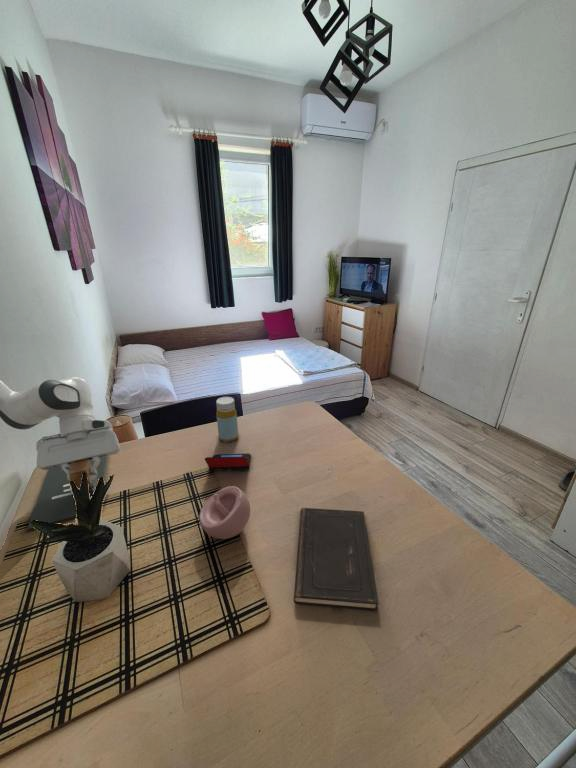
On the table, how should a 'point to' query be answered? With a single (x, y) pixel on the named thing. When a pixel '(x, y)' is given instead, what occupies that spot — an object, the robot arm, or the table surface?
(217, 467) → the handheld console
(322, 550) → the hardcover book
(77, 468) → the tan rectangular block
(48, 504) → the slate board
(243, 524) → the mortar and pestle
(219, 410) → the bottle
